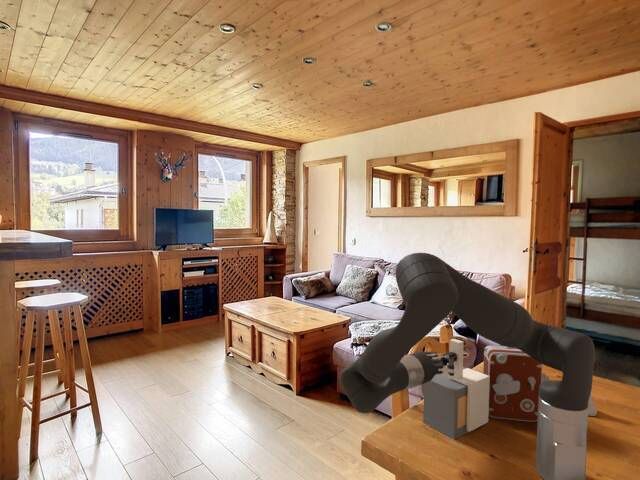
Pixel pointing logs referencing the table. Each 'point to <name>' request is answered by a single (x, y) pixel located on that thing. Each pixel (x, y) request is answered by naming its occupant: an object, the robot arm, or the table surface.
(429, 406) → the camera housing
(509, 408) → the brown boxy piece
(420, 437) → the table surface
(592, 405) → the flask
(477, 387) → the grooved cream block
